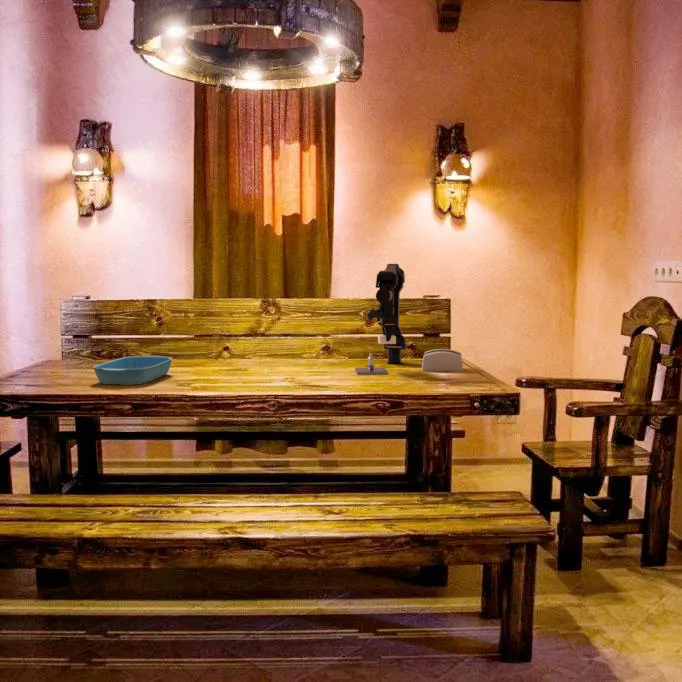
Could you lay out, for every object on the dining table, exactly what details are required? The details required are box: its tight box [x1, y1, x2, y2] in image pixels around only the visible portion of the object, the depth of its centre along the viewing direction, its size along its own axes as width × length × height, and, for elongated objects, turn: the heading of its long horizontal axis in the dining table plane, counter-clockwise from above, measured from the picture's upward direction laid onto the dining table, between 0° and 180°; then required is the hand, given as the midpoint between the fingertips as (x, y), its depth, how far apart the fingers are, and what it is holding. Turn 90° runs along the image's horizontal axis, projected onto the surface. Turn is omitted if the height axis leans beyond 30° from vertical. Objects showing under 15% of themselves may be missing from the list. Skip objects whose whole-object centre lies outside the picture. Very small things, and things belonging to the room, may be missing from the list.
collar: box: [377, 334, 396, 345], centre depth 295 cm, size 6×6×3 cm
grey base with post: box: [354, 353, 388, 376], centre depth 292 cm, size 12×12×8 cm
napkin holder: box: [421, 348, 464, 372], centre depth 296 cm, size 17×5×10 cm, turn 82°
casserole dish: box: [92, 355, 173, 386], centre depth 279 cm, size 37×22×7 cm, turn 171°
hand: (386, 340), depth 295 cm, fingers closed on collar, 6 cm apart
